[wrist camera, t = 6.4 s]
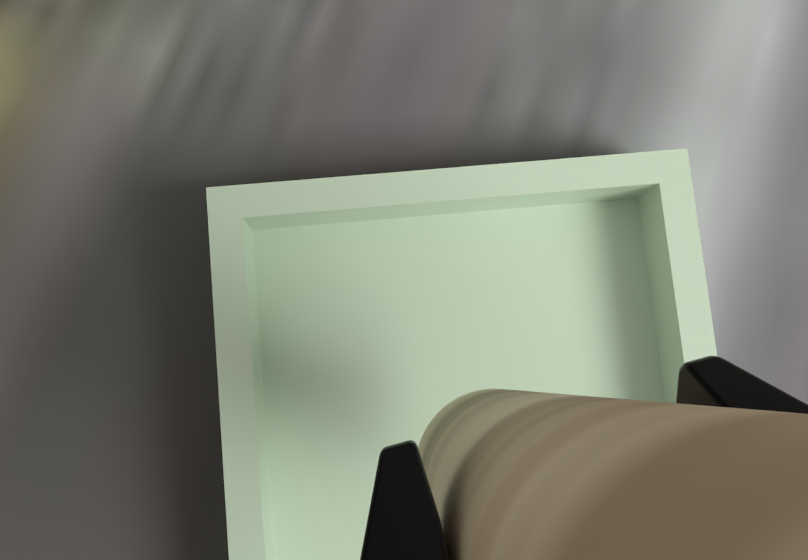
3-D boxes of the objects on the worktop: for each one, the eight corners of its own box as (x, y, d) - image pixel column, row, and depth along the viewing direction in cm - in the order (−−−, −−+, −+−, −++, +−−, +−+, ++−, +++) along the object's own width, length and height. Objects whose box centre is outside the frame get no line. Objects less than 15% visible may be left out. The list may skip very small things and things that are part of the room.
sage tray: (740, 789, 18) (786, 842, 16) (265, 848, 18) (250, 910, 16) (655, 171, 20) (686, 148, 18) (223, 207, 20) (205, 187, 18)
